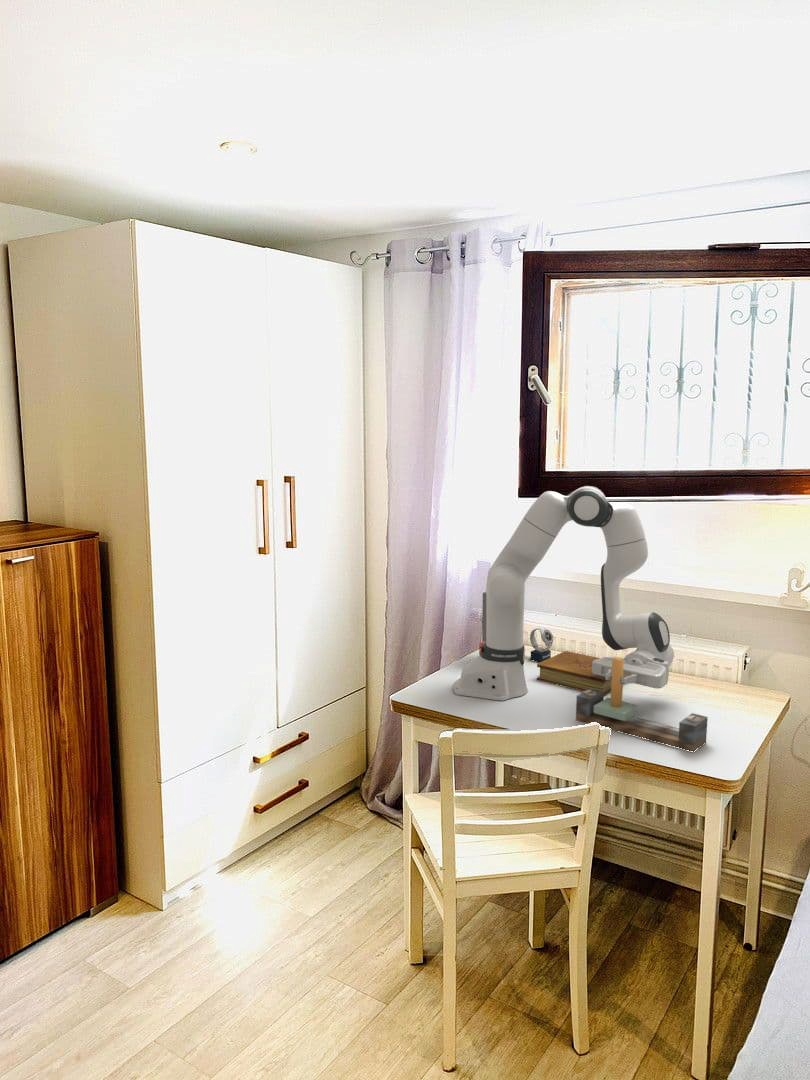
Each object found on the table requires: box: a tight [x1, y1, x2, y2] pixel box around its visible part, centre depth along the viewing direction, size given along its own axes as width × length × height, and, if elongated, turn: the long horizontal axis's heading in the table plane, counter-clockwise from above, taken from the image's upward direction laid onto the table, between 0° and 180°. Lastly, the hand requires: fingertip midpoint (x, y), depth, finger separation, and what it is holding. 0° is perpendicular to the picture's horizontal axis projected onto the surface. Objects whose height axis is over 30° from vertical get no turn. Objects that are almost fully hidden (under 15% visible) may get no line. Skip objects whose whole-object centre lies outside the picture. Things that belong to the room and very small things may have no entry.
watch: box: [529, 626, 554, 663], centre depth 278 cm, size 6×8×11 cm
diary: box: [536, 650, 611, 697], centre depth 259 cm, size 23×19×6 cm
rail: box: [575, 688, 709, 753], centre depth 218 cm, size 33×8×8 cm, turn 49°
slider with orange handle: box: [594, 656, 639, 721], centre depth 221 cm, size 9×8×15 cm
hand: (615, 679), depth 220 cm, fingers closed on slider with orange handle, 3 cm apart
